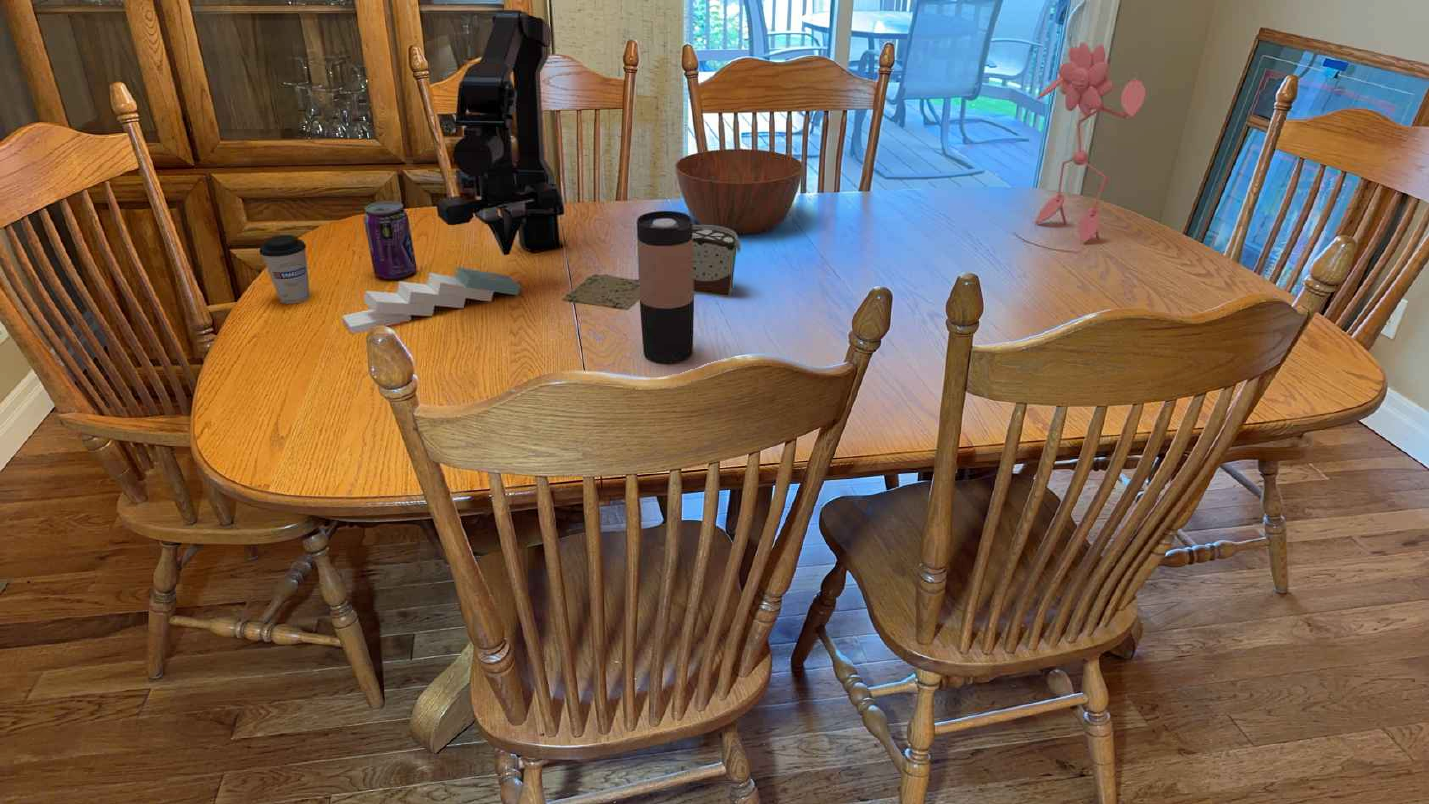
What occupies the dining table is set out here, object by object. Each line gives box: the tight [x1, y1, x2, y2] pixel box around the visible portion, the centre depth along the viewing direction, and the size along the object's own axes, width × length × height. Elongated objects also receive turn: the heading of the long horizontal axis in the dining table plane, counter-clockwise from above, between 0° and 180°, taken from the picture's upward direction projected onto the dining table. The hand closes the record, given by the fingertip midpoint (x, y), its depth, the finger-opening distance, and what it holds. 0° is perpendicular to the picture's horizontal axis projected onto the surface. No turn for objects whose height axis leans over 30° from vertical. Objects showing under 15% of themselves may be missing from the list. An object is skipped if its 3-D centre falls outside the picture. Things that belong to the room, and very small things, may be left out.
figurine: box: [1012, 42, 1146, 254], centre depth 168 cm, size 15×26×35 cm, turn 23°
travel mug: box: [636, 210, 695, 365], centre depth 128 cm, size 8×8×20 cm
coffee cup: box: [258, 234, 311, 305], centre depth 148 cm, size 7×7×10 cm
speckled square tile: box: [562, 273, 640, 311], centre depth 153 cm, size 12×12×1 cm
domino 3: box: [396, 280, 466, 309], centre depth 145 cm, size 2×5×9 cm
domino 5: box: [454, 266, 521, 296], centre depth 150 cm, size 2×5×9 cm
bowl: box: [675, 148, 805, 235], centre depth 182 cm, size 25×25×11 cm
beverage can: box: [363, 200, 418, 280], centre depth 157 cm, size 7×7×12 cm
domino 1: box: [341, 308, 412, 334], centre depth 143 cm, size 2×5×9 cm
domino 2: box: [363, 290, 435, 317], centre depth 143 cm, size 2×5×9 cm
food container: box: [692, 224, 742, 298], centre depth 152 cm, size 12×6×10 cm, turn 71°
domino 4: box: [426, 272, 495, 303], centre depth 148 cm, size 2×5×9 cm
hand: (506, 254), depth 150 cm, fingers closed
